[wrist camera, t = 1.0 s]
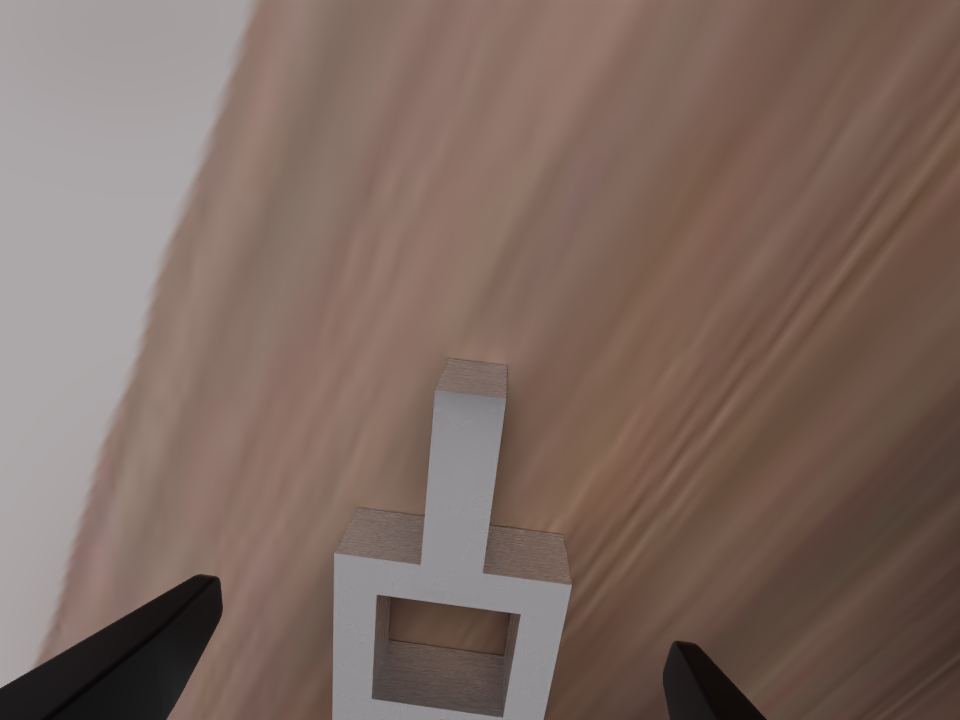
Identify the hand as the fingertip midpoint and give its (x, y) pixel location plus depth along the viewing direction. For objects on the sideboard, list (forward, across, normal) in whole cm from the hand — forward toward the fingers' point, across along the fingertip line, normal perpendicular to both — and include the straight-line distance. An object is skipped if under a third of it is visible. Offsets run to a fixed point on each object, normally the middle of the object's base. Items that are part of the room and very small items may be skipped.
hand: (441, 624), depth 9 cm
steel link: (+8, 0, +4) cm, 9 cm away
